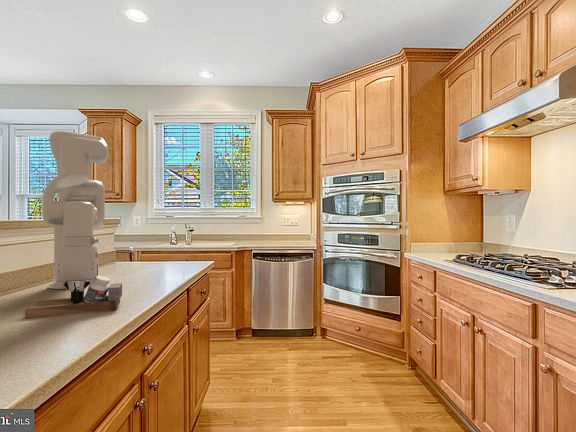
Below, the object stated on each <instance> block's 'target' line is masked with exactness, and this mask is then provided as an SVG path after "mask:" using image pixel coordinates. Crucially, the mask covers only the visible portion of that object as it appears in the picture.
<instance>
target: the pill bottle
mask: <svg viewBox="0 0 576 432" xmlns="http://www.w3.org/2000/svg"><path fill="white" fill-rule="evenodd" d="M110 281H111V279H110V278H109V277H107V276H104V275H98V276H97V277H96V278H95V280H94V283H92V284H90V285H88V287H87V290H86V293H85V294H84V300H83V302H82V303H92V302H103V301H104V299H105V296H106V295H108V294H107V293H108V288H109V286H108V285H109V283H110Z"/></svg>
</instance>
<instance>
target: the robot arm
mask: <svg viewBox="0 0 576 432" xmlns="http://www.w3.org/2000/svg"><path fill="white" fill-rule="evenodd" d="M49 146H50V150H51V153H52V155H53V157H54V160H55V162H56V166H57V169H56V170H57V171H56V172H57V175H56V176H55V177H54V178H53V179H52V180H50V181H49V182H48V183H47V185H46V186H45V188H44V190H43V193H42V201H41V202H42V207H41V210H42V211H41V216H42V220H43V221H44V223H45V224H47V225H50V226H52V227H53V240H54V241H53V242H54V244H53V245H54V247H53V248H54V249H53V251H54V252H53V282H50V283H48V287H47V288H49V289H52V290H65V289H66V290H68V291H69V292H70V298H71V302H73V304H78V303H82V301H83V300H84V297H85V289H86V288H88V287H89V285H90V284H92V283H94V280H95V278H96V277H97V276H99V273H100V271H99V268H100V267H99V255H98V249H97V246H96V245H95V246H94V244H96V243H98V244H99V238H96V237H95V236H94V230H100V229H102V228H103V227H104V225H105V216H106V214H105V211H106V210H105V208H106V207H105V205H106V191H105V186H104V184H103V183H102V182H101V181H99V180H96V179H91V164H90V163H93V164H105V163H107V162H108V159H109V156H110V154H109V147H108V144H107V142H106V141H105V139H104V138H102V137H101V136H96V135H92V134H91V135H90V134H83V133H78V132H73V131H72V132H71V131H61V130H60V131H59V130H58V131H52V132H51V133H50V135H49ZM56 195H57V198H58V199H59V200H58V201H57V200H54V198H55V196H56Z"/></svg>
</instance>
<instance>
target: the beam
mask: <svg viewBox="0 0 576 432" xmlns="http://www.w3.org/2000/svg"><path fill="white" fill-rule="evenodd" d="M108 287H109V288H108V292H107V293H108V294H106V296H105V299H104V301H103V302H92V303H78V304H73V302H71V297H59V298H58V297H57V298H56V297H55V298H46V299H45V298H42V299H38V300H36V301H35V302H36V304H35V305H36V306H28V307H25V308H24V319H28V318H29V319H30V318H39V317H53V316H63V315H64V316H65V315H75V314H87V313H89V314H90V313H99V312H100V313H101V312H114V311H117V309H118V307H119V304H120V303H121V298H122V296H123V283H122V282H120V283H119V282H118V283H117V282H115V283H110V285H109V286H108ZM82 302H83V301H82Z"/></svg>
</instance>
